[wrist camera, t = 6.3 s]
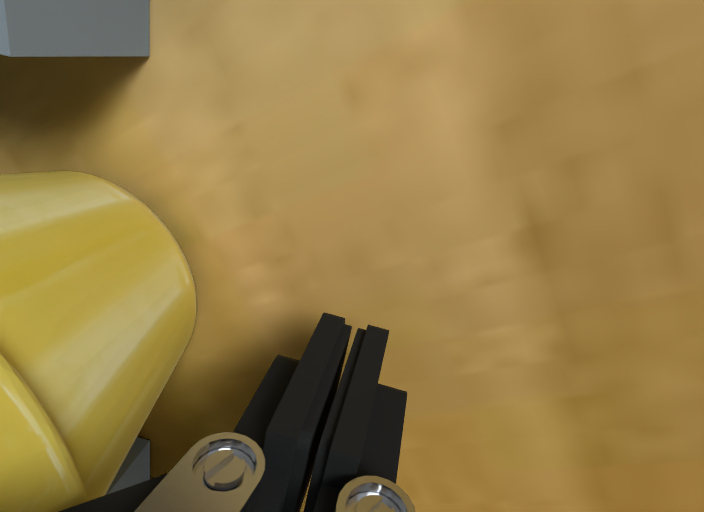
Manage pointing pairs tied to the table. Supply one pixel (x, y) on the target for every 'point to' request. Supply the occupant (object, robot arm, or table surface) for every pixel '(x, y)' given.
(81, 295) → the plant pot
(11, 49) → the bar
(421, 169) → the table surface
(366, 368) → the robot arm
